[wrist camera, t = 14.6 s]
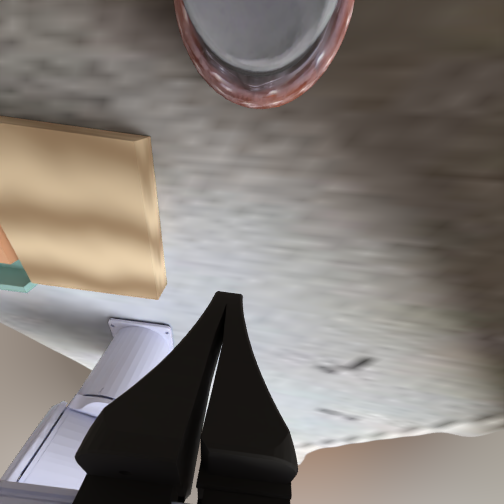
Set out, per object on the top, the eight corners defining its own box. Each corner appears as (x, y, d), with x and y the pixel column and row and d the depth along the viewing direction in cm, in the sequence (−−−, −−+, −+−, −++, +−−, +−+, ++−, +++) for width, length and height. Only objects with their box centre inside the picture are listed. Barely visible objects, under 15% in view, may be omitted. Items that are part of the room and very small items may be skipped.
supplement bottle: (199, 50, 15) (73, -39, 5) (267, -57, 12) (257, -599, 3) (264, 125, 17) (257, 157, 7) (334, 47, 14) (461, -59, 5)
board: (166, 283, 26) (157, 299, 24) (51, 268, 26) (31, 283, 24) (150, 136, 18) (134, 141, 16) (-21, 112, 18) (-60, 114, 15)
